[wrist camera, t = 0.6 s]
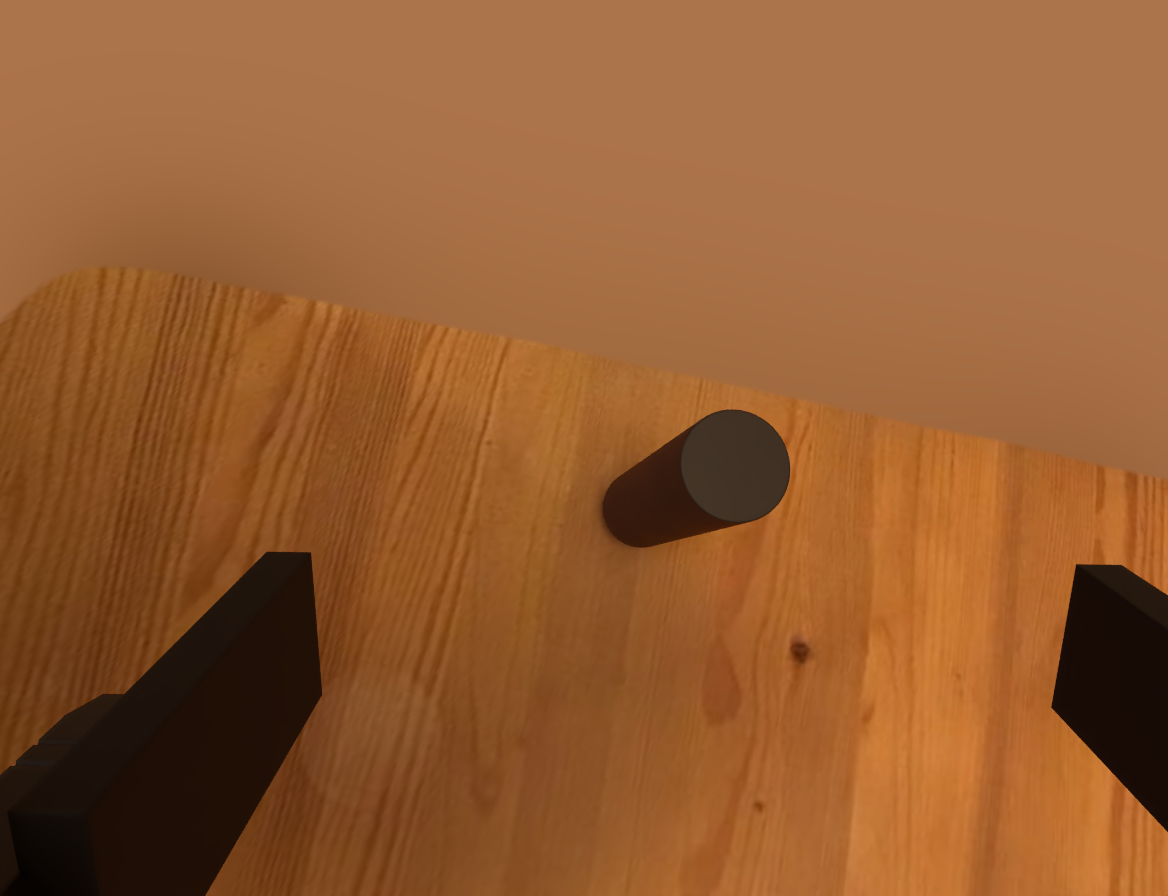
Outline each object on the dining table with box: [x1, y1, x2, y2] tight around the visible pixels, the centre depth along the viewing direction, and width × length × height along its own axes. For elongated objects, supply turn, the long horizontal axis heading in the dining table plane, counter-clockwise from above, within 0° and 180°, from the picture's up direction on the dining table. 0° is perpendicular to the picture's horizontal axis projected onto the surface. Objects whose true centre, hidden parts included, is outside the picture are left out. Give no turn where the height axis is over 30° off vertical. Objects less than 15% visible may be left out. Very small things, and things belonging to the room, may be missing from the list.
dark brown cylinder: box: [603, 410, 790, 548], centre depth 30 cm, size 3×3×13 cm
